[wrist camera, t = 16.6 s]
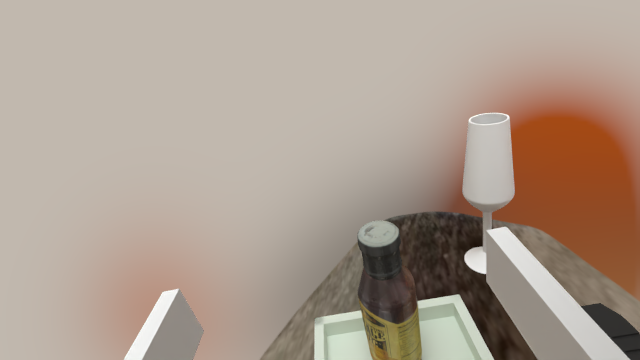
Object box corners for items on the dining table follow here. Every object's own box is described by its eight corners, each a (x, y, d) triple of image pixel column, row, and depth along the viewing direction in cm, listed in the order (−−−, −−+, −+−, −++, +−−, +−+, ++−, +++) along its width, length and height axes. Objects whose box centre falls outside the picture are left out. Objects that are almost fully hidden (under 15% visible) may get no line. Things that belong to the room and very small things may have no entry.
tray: (459, 312, 44) (459, 294, 42) (506, 405, 33) (507, 385, 32) (320, 334, 46) (314, 318, 44) (321, 429, 35) (314, 411, 33)
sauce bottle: (365, 345, 42) (335, 221, 33) (408, 329, 42) (390, 204, 34) (384, 394, 36) (355, 259, 27) (435, 375, 36) (421, 238, 28)
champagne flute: (517, 254, 51) (526, 110, 41) (501, 280, 47) (507, 129, 37) (474, 242, 56) (472, 110, 45) (457, 264, 52) (451, 126, 42)
